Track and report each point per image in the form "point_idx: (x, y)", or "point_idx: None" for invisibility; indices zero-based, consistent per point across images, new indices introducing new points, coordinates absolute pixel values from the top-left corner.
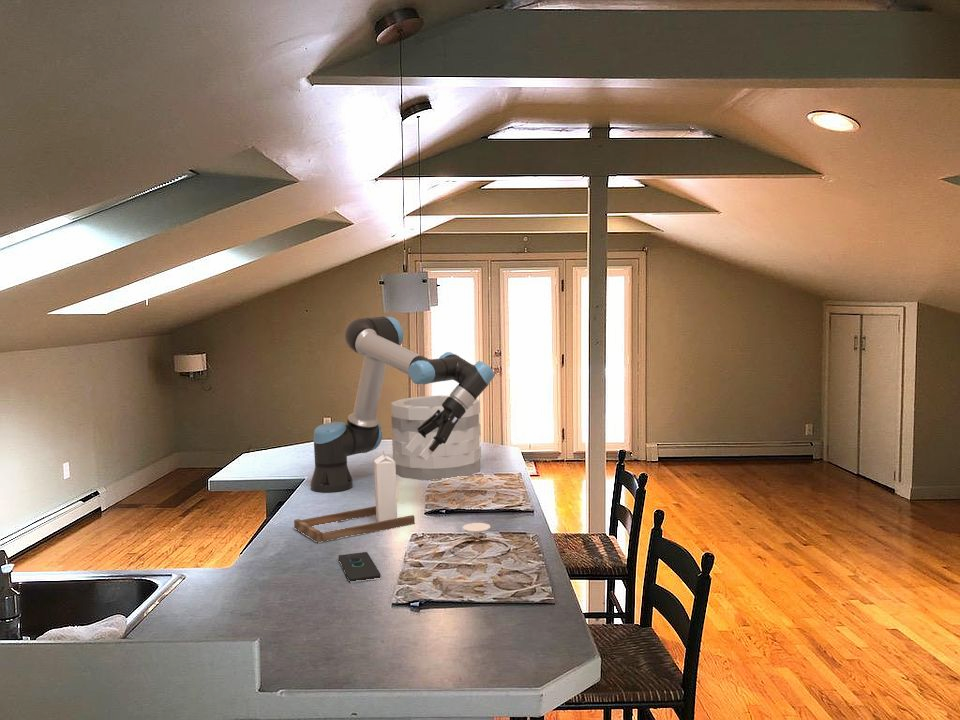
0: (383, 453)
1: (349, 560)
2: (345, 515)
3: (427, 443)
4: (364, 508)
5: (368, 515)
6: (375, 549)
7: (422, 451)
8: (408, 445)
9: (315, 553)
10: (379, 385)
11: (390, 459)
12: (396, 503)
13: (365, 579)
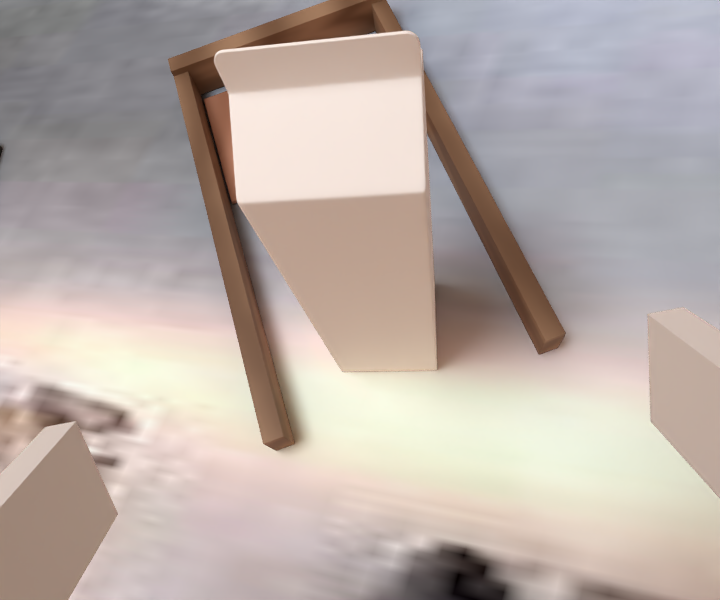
0: (379, 62)
1: None
2: (442, 148)
3: None
4: (498, 217)
5: (487, 251)
6: (23, 252)
7: (41, 460)
8: (676, 341)
9: (93, 87)
10: None
11: (292, 152)
12: (322, 338)
13: None
